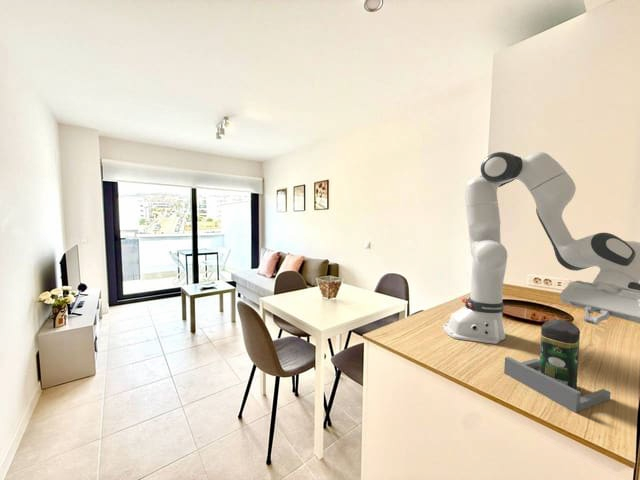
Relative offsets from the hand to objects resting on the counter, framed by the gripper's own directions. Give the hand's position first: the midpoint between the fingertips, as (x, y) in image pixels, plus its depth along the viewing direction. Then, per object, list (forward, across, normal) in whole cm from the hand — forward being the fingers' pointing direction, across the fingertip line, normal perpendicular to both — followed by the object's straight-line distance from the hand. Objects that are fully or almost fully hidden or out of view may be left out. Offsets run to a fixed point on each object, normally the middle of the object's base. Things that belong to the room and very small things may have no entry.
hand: (590, 322), depth 80 cm
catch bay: (+22, 0, +1) cm, 22 cm away
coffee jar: (+22, +1, +1) cm, 22 cm away
